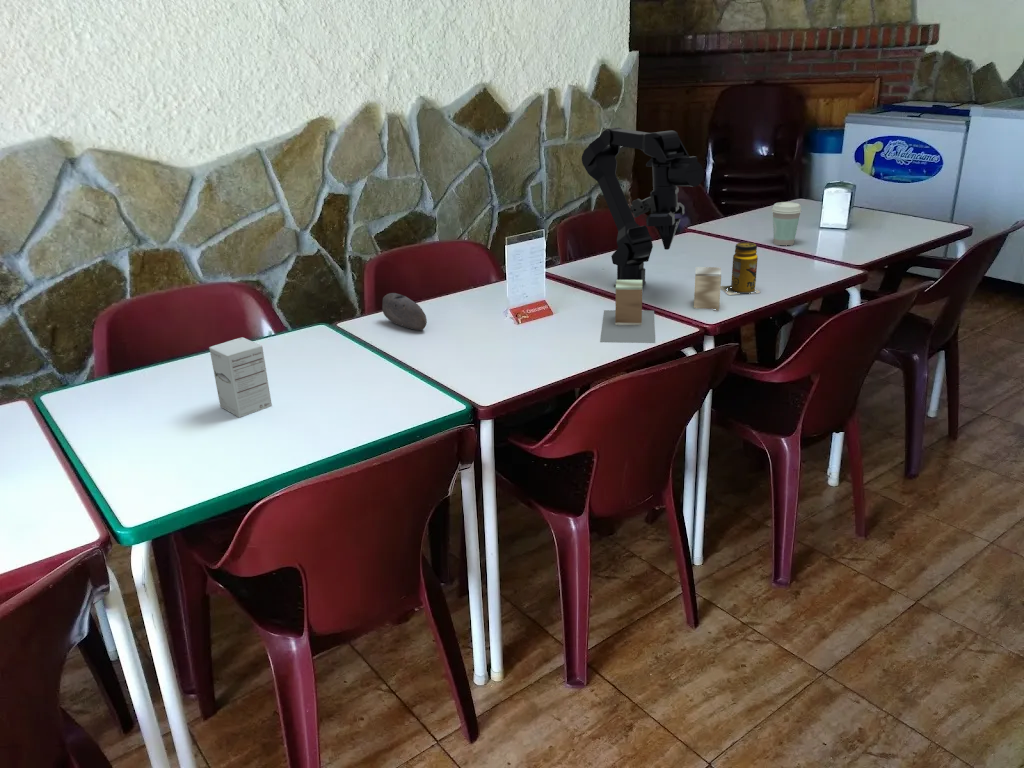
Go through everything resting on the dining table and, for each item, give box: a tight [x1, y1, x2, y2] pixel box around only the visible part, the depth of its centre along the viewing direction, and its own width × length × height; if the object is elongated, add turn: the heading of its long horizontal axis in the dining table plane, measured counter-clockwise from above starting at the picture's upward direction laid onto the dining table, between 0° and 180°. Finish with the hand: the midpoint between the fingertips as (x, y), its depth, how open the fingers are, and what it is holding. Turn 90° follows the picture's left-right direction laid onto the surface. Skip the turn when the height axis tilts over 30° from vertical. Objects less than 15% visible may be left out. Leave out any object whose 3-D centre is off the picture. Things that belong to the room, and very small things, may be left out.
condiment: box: [720, 241, 761, 296], centre depth 217 cm, size 7×8×12 cm
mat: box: [599, 309, 656, 344], centre depth 196 cm, size 22×12×1 cm, turn 172°
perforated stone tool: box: [382, 292, 428, 331], centre depth 202 cm, size 15×5×7 cm, turn 40°
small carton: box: [615, 279, 643, 325], centre depth 198 cm, size 6×6×9 cm
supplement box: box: [208, 336, 273, 418], centre depth 161 cm, size 7×7×13 cm
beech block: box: [693, 266, 722, 311], centre depth 206 cm, size 6×6×9 cm
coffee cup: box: [771, 201, 802, 247], centre depth 257 cm, size 8×8×12 cm
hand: (667, 249), depth 211 cm, fingers closed
